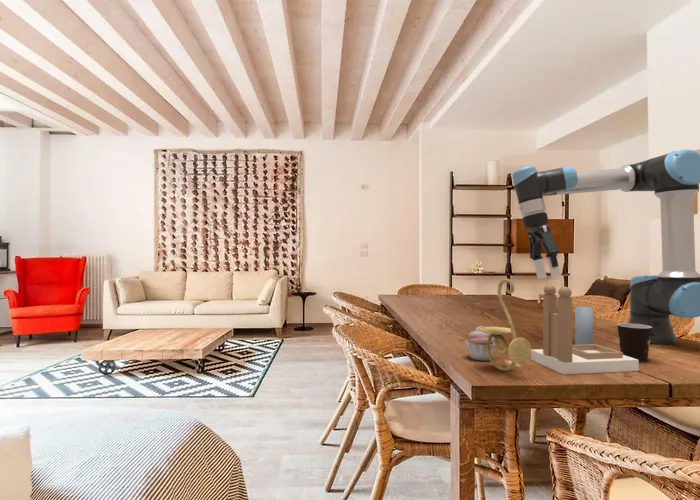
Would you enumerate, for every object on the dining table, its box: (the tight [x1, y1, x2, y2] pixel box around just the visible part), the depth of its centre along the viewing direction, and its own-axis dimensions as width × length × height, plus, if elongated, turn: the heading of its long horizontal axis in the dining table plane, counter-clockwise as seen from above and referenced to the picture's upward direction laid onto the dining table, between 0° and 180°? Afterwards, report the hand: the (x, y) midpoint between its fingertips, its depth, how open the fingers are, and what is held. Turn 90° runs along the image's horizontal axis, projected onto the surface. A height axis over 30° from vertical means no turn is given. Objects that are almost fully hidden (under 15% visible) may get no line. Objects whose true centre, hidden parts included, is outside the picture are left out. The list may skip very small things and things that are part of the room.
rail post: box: [574, 306, 594, 345], centre depth 135 cm, size 5×5×14 cm
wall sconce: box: [479, 278, 532, 372], centre depth 113 cm, size 14×10×25 cm
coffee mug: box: [616, 322, 652, 363], centre depth 126 cm, size 12×9×10 cm
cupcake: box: [464, 325, 497, 362], centre depth 126 cm, size 9×9×10 cm
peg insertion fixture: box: [530, 284, 640, 375], centre depth 119 cm, size 22×15×23 cm
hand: (549, 278), depth 135 cm, fingers open, 13 cm apart
